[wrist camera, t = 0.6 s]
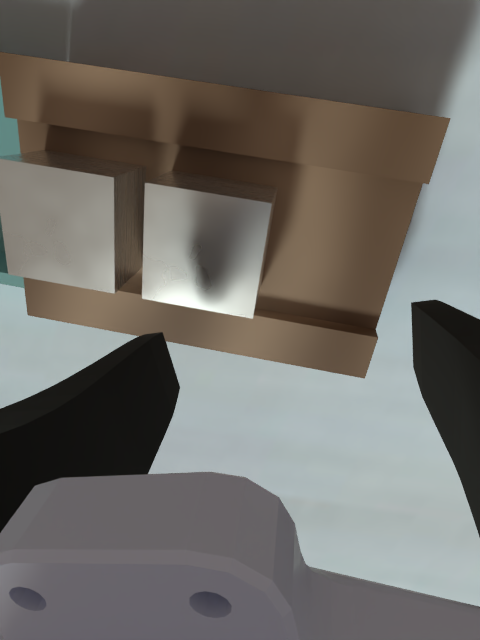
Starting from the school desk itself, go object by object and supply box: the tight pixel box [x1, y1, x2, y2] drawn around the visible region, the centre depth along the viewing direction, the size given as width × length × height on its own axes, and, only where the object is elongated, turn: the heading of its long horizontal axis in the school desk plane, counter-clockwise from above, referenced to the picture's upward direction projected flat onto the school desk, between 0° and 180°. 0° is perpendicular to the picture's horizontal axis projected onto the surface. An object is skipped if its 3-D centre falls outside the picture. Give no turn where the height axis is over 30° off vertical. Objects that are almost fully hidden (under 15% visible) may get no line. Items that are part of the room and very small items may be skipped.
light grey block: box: [0, 150, 146, 294], centre depth 15 cm, size 4×4×3 cm
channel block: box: [0, 52, 450, 378], centre depth 18 cm, size 15×10×5 cm, turn 83°
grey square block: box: [142, 170, 277, 319], centre depth 15 cm, size 4×4×3 cm
